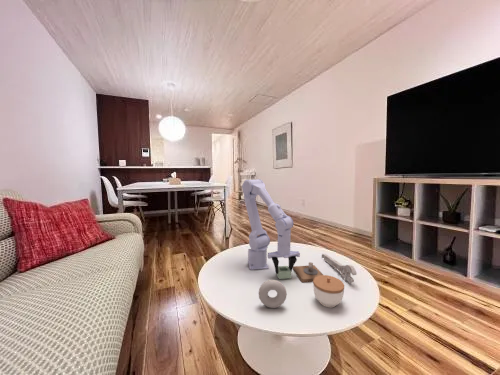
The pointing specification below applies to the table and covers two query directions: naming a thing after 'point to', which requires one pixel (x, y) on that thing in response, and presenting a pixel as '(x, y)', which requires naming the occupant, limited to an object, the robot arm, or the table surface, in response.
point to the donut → (272, 301)
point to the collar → (284, 272)
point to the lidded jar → (328, 290)
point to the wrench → (341, 268)
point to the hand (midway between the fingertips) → (283, 272)
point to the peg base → (306, 272)
